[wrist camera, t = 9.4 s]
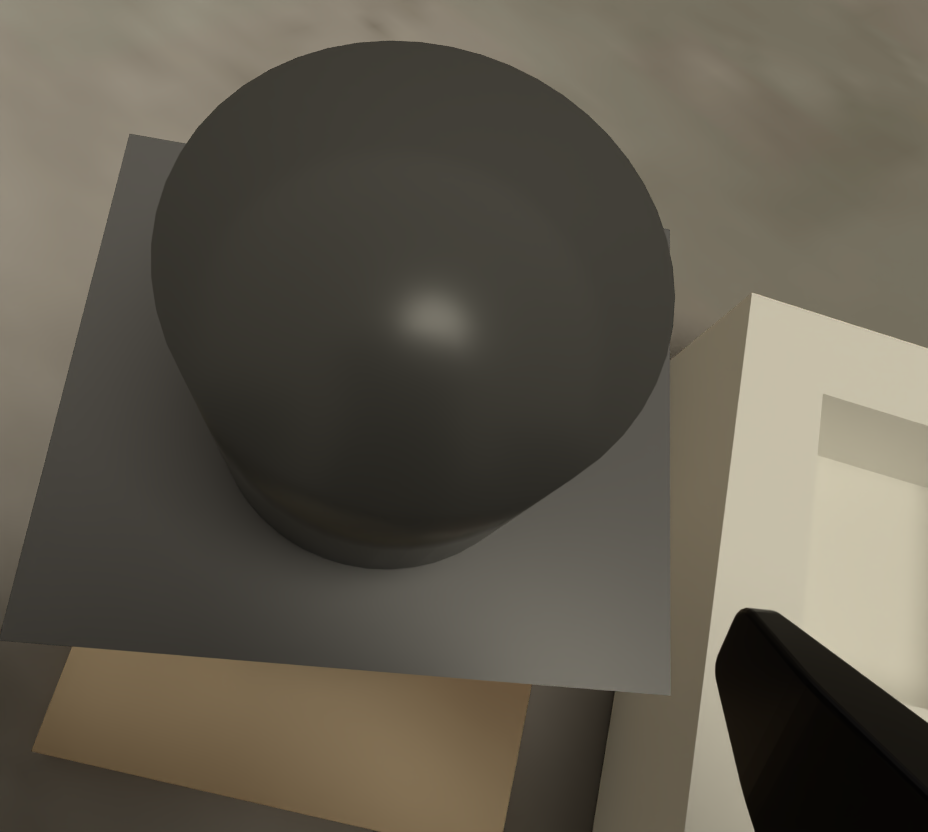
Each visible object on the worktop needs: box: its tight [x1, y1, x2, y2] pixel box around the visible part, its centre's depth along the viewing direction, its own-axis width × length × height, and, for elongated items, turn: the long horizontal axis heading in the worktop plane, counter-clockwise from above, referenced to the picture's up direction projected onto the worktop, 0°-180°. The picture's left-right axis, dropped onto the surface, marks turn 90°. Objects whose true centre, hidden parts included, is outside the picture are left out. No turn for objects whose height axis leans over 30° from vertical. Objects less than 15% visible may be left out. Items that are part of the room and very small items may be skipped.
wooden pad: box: [31, 647, 532, 832], centre depth 16 cm, size 9×9×1 cm
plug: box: [0, 41, 675, 696], centre depth 10 cm, size 3×4×14 cm
